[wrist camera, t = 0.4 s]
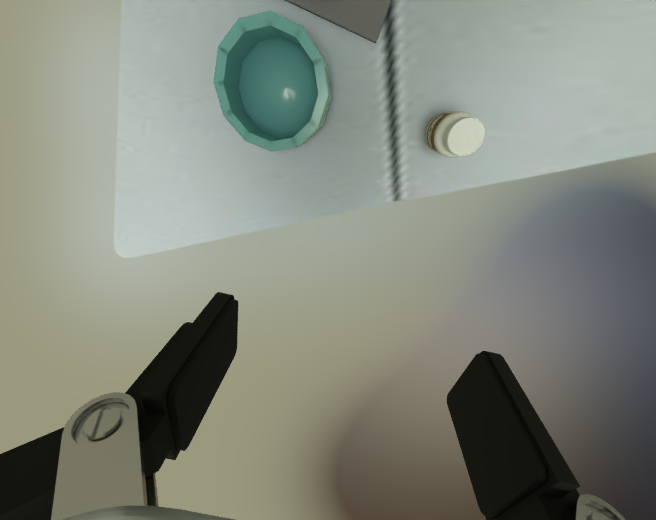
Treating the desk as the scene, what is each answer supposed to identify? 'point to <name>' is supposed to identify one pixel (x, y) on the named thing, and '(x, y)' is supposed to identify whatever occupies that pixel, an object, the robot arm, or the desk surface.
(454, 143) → the pill bottle
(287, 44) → the bowl
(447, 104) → the desk surface
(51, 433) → the robot arm
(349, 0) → the mat
